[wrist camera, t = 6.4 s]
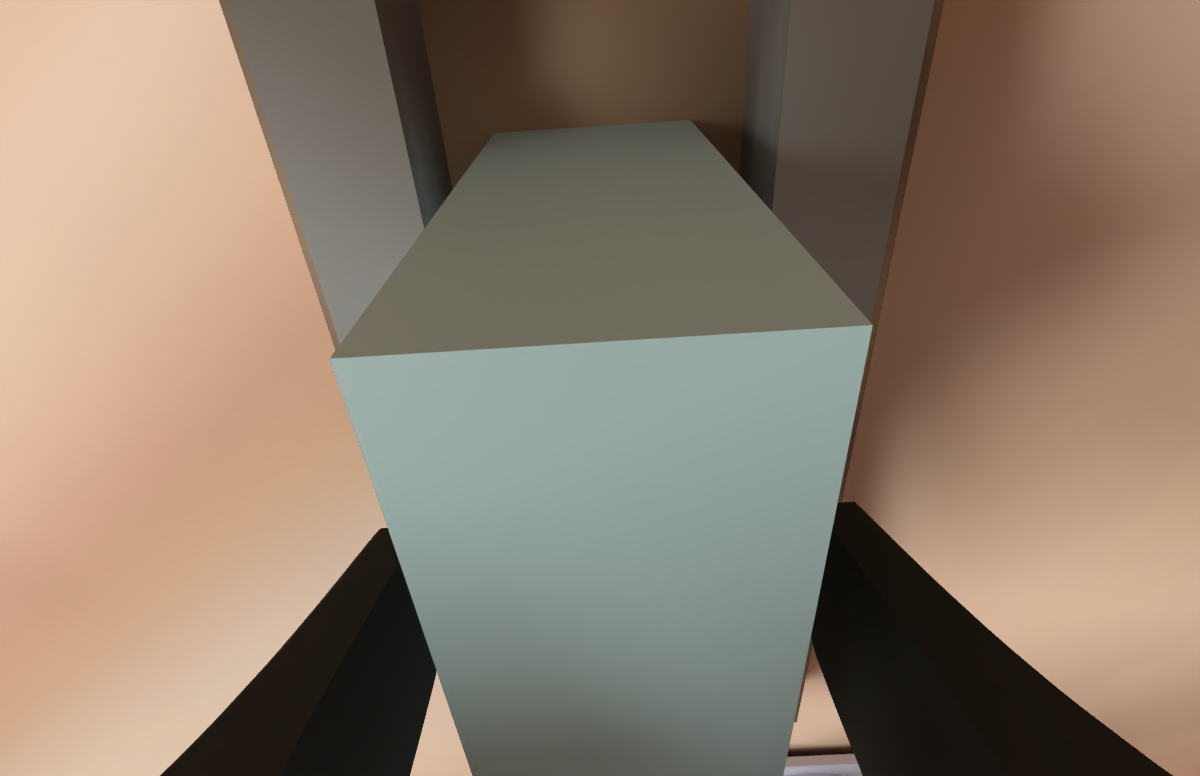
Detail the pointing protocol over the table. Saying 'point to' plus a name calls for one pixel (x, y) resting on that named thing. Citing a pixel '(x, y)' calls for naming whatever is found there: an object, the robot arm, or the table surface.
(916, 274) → the table surface
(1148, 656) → the table surface
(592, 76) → the door track
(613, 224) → the door panel
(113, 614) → the table surface
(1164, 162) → the table surface
